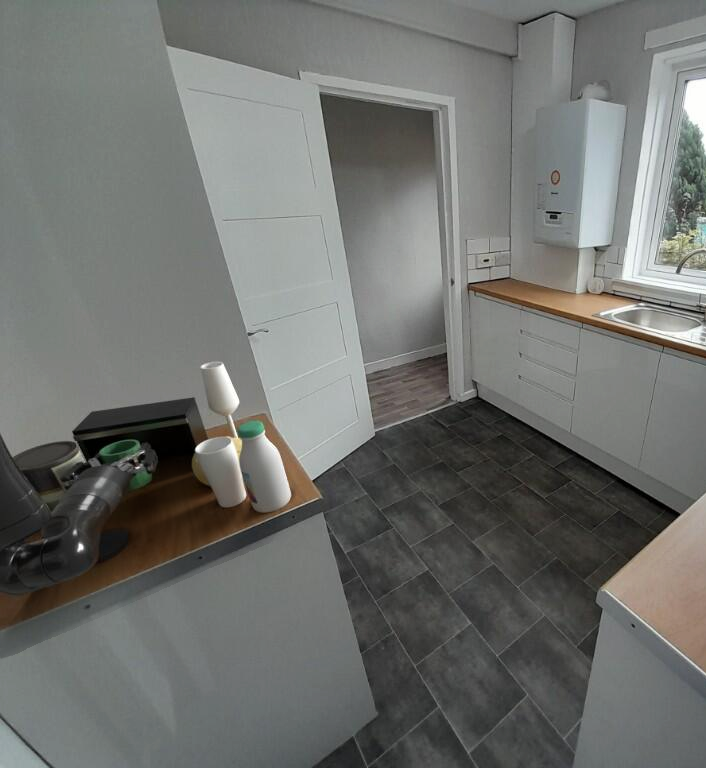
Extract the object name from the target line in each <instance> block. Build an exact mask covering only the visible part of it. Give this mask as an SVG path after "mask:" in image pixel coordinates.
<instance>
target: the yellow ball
mask: <svg viewBox="0 0 706 768" xmlns="http://www.w3.org/2000/svg"><path fill="white" fill-rule="evenodd" d="M225 437H229V438H231V439H232V441H233V443H234V446H235V448H236V451H237V455H238V459H239V457H240V453H241V449H242V440H241V439H240V438H239V437H238V438H233V437H232V436H228V435H227V436H225ZM191 469H192V472H193V475H194V476H195V477H196V479H197V480H198V481H199V482H200V483H202V484H204V485H205V486H208V487H211V486H210V484H209V483H208V481H207V479H206V477H205V475H204V473H203V471H202V469H201V467H200V465H199V462H198V459H197V456H196V453H195V454H193V456H192V458H191ZM241 474H242V473H241ZM242 478H243V476H242Z"/></svg>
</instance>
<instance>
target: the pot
mask: <svg viewBox="0 0 706 768" xmlns="http://www.w3.org/2000/svg"><path fill="white" fill-rule="evenodd" d="M140 447H141V446H140V443H139V441H137V440H123V441H119V442H115V443H112V444H110V445H108V446H106V447H104V448H102V449H101V450H100V452H99V454H100V456H101V458H102V461H103V463H104V464H105V463H113V462H116V461H119V460H121V459H123V458H124V457H126V456H127V455H133V454H135V453H136V452H138V449H139V448H140ZM139 460H140V458H139V457H138V461H139ZM128 462H129V461H128ZM152 480H153V473H152V474H147V472H146V471H144V472H140V473H137V475H136V476H134V477H133V478H132V479H131V481H130V484H129V487H128V489H127V491H126V492H129V491H134V490H138V489H140V488H142V487H144V486H146V485H148V484H149V483H150V482H151V481H152Z"/></svg>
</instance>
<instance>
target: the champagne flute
mask: <svg viewBox="0 0 706 768" xmlns="http://www.w3.org/2000/svg"><path fill="white" fill-rule="evenodd" d="M199 368H200V371H201V378H202V382H203V386H204V391H205V395H206V401H207V404H208V405H207V406H208V408H209V410H210V411H211V412H213V413H215V414H217V415H220V416H222V417H223V416H224V417H225V419H226V421H227V422H226V423H227V425H228V428H229V431H230V434H231V437H232V438H239V435H238V432H237V431H236V427H235V423H234V421H233V418H232V414H233V413H234V412H235V411H236V410H237V409H238V407H239V406H240V405H239V404H240V399H239V396H238V394H237V391H236V389H235V387H234V385H233V383H232V381H231V378H230V375H229V374H228V371H227V369H226V366H225V365H224V362H223V361H211V362H206V363H203V364H202V365H200V367H199Z"/></svg>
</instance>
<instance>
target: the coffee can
mask: <svg viewBox="0 0 706 768" xmlns="http://www.w3.org/2000/svg"><path fill="white" fill-rule="evenodd" d="M12 458H13V459H14V461H15V463H16V464H17V466H18V467H19V469H20V470H21V472H22V473H23V474H24V476H25V477H26V478H27V480H28V481H29V482H30V483H31V485H32V486H33V487H34V489H35V490H36V491H37V492H38V494H39V495H40V496H41V498H42V499H43V500H44V501H45V503H46V504H47V505H48V507H49V508H50V510H51V512H52V511H53V510H54V509H55V507H56V506H57V505H58V503H59V501H60V499H61V497H62V496H63V495H64V493H65V492H66V491H67V490H68V489H67V490H66V489H65V488H64V486H63V484H62V483H61V480H60V478H61V477H62V476H63V475H64V474H65V473H66V472H67V471H68V470H69V469H70V468H71V467H73V466H74V465H75V464H76V463H78V462H84V463H86V460H85V458H84V456H83V454H82V452H81V449H80V447H79V445H78V443H77V442H76V441H72V440H71V441H70V440H62V441H54V442H53V441H52V442H48V443H44V444H40V445H37V446H34V447H31V448H29V449H26V450H23V451H21V452H19V453H17V454H16V455H14V456H12Z"/></svg>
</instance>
